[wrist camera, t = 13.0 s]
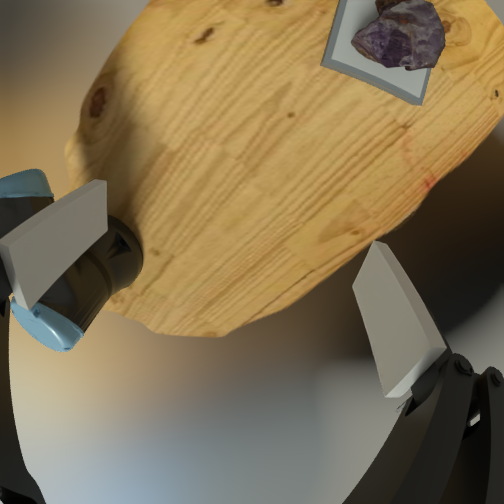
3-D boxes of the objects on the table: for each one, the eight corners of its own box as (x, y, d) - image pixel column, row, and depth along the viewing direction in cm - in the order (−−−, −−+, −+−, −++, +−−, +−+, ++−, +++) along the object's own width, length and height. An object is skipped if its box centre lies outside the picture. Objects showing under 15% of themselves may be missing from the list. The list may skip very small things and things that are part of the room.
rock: (336, 38, 24) (396, 90, 26) (341, 25, 17) (418, 94, 19) (387, -11, 17) (444, 42, 19) (403, -31, 10) (474, 36, 12)
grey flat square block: (320, 65, 28) (323, 61, 25) (341, -11, 21) (346, -20, 18) (412, 105, 28) (422, 105, 25) (430, 30, 21) (440, 26, 18)
